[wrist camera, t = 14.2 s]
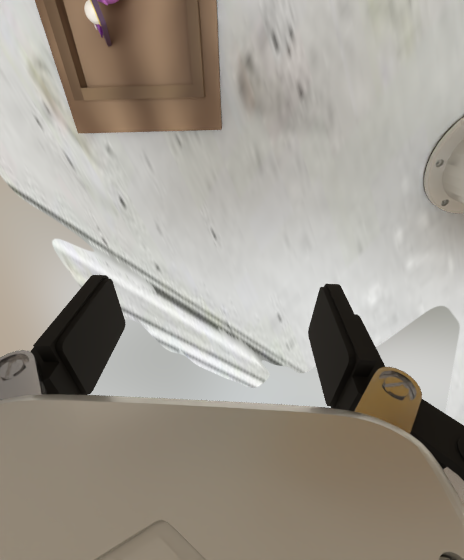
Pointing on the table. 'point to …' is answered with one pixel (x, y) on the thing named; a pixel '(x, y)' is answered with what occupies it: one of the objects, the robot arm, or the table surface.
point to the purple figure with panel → (98, 17)
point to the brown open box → (138, 64)
